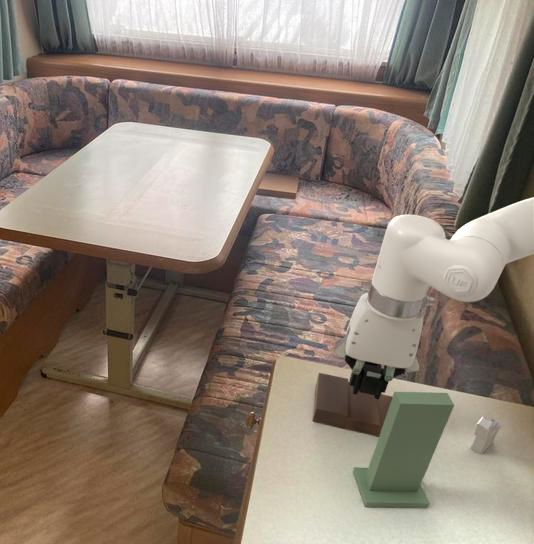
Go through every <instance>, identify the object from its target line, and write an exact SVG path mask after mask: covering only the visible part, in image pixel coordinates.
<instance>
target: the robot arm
mask: <svg viewBox="0 0 534 544" xmlns="http://www.w3.org/2000/svg"><path fill="white" fill-rule="evenodd" d="M380 247H381V248H380V250H379V254H378V256H377V257H378V258H377V261H376V264H375V268H374V272H373V275H372V278H371V282H370V285H369V289H368V292H364V293H363V294H361V295H360V297H359V299H358V301H357V303H356V305H355V307H354V310H353V312H352V315H351V317H350V320H349V323H348V325H347V329H346V332H345V336H344V337H343V338H342V339H341V340H340V341H338V342H337V343H336V344H335V345H334V346H333V354H334V355H336V356H337V357H339V358H340V359H341V360H344V362H345V363H346V364H347V365H348V366H349V368H350V369H351V373H350V376H349V380H348V382H349V385H350V386H353V394H358V391H359V386H360V383H361V380H362V368H363V365H364V363H365V361H368V362H372V363H377V364H381V366H383V367H381V369H382V383H381V386H380V389H379V392H378V395H377V396H375V395H374V398H375V399H379V398H380V395H381V394H385V393H386V391H387V389H388V385H389V382H392V381H393V379H394V378H396V377H398V376H401V375H403V374H405V373H415V372H419V371H420V370H421V369H420V363H419V359H418V355H417V352H418V350H419V349H418V348H419V345H420V342H421V341H420V340H421V336H422V331H423V326H424V318H425V317H424V316H425V307H434V305H435V302H436V298H435V297H433V296H430V295H428V294H427V292H428V290H429V287H430V288H432V289H434V290H436V291H437V292H439V293H441V294H442V295H444V296H446V297H448V298H450V299H452V300H455V301H459V302H463V303H474V302H479V301H480V300H484V299H485V298H487V297H488V296H489V295H490V294H491V292H492V291H493V290H494V289H495V287H496V285H497V284H498V281H499V279H500V277H501V274H502V273H503V270H504V269H505V266H506V265H507V264H510V263H512V262H515V261H517V260H520V259H523V258H526V257H530V256H532V255H534V196H533V197H530V198H526V199H523V200H520V201H517V202H515V203H512V204H509V205H506V206H504V207H502V208H499V209H497V210H495V211H492V212H489V213H487V214H485V215H482V216H480V217H477V218H475V219H473V220H471V221H469V222H467V223H466V224H463V226H461V227H460V228H459V229H458V230H457V231H456V232H455V233H454V234H453V235H452V237H451V238H450V239H448V238H446V232H445V230H444V228H443V226H442V225H441V224H440V223H438V222H437V221H435V220H433V219H431V218H429V217H426V216H423V215H418V214H407V213H406V214H401V215H398V216H395V217H394V218H392V219H391V220H390V221H389V222H388V224H387V227H386V230H385V233H384V237H383V240H382V243H381V246H380Z"/></svg>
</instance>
